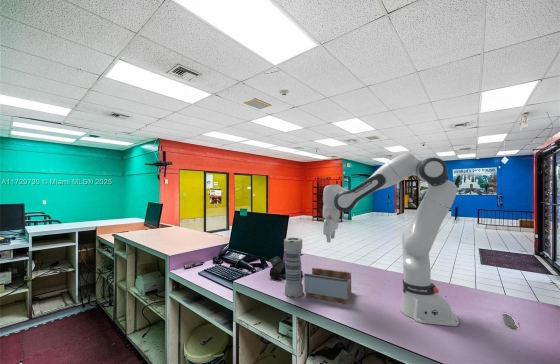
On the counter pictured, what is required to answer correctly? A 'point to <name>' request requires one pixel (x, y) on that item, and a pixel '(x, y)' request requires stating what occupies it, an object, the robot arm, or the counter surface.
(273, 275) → the virtual reality headset
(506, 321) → the stone tool
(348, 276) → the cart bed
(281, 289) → the counter surface
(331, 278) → the panel
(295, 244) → the canister
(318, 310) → the counter surface
